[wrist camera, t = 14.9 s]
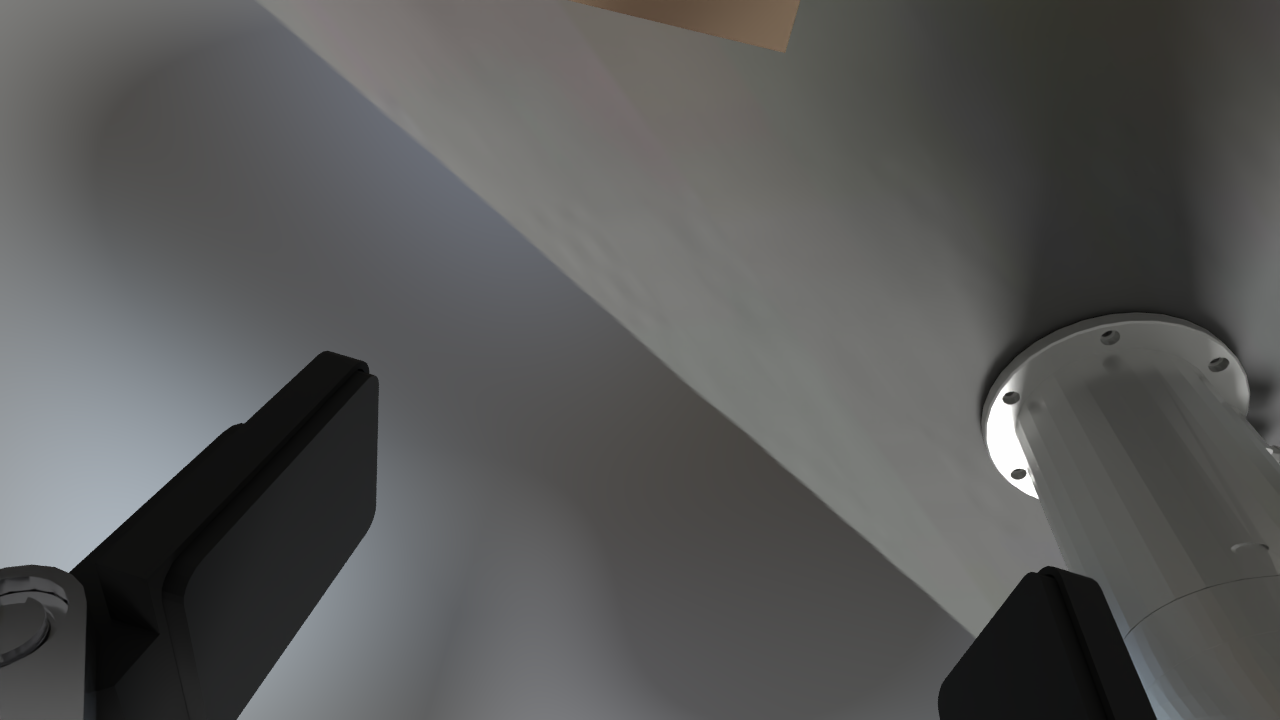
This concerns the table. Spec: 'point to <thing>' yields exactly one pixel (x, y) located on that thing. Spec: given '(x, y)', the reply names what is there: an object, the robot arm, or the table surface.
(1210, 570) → the robot arm
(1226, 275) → the table surface
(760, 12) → the brown piece
